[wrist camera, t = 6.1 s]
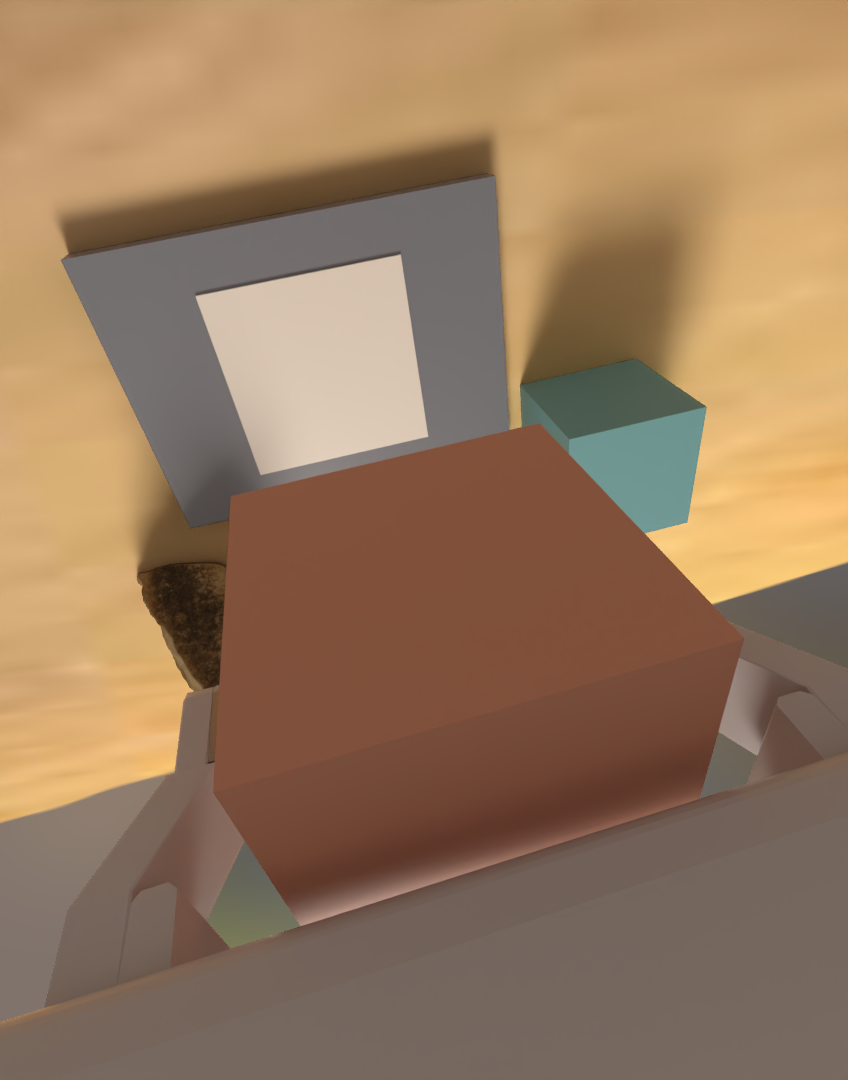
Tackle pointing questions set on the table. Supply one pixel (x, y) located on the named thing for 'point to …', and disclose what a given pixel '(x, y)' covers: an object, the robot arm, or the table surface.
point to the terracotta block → (453, 670)
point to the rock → (189, 617)
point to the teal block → (625, 435)
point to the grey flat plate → (306, 338)
